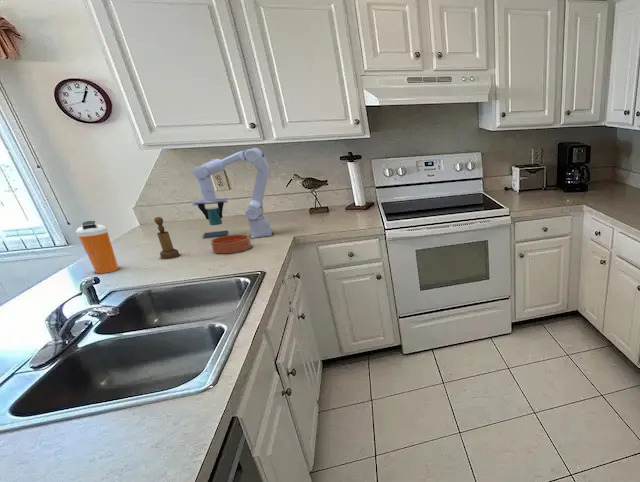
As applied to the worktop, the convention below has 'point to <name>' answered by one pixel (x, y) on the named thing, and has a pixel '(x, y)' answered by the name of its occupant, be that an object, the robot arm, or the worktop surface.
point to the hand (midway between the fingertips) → (214, 218)
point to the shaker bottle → (97, 246)
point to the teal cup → (214, 216)
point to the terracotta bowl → (231, 243)
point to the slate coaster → (215, 234)
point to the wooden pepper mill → (165, 241)
